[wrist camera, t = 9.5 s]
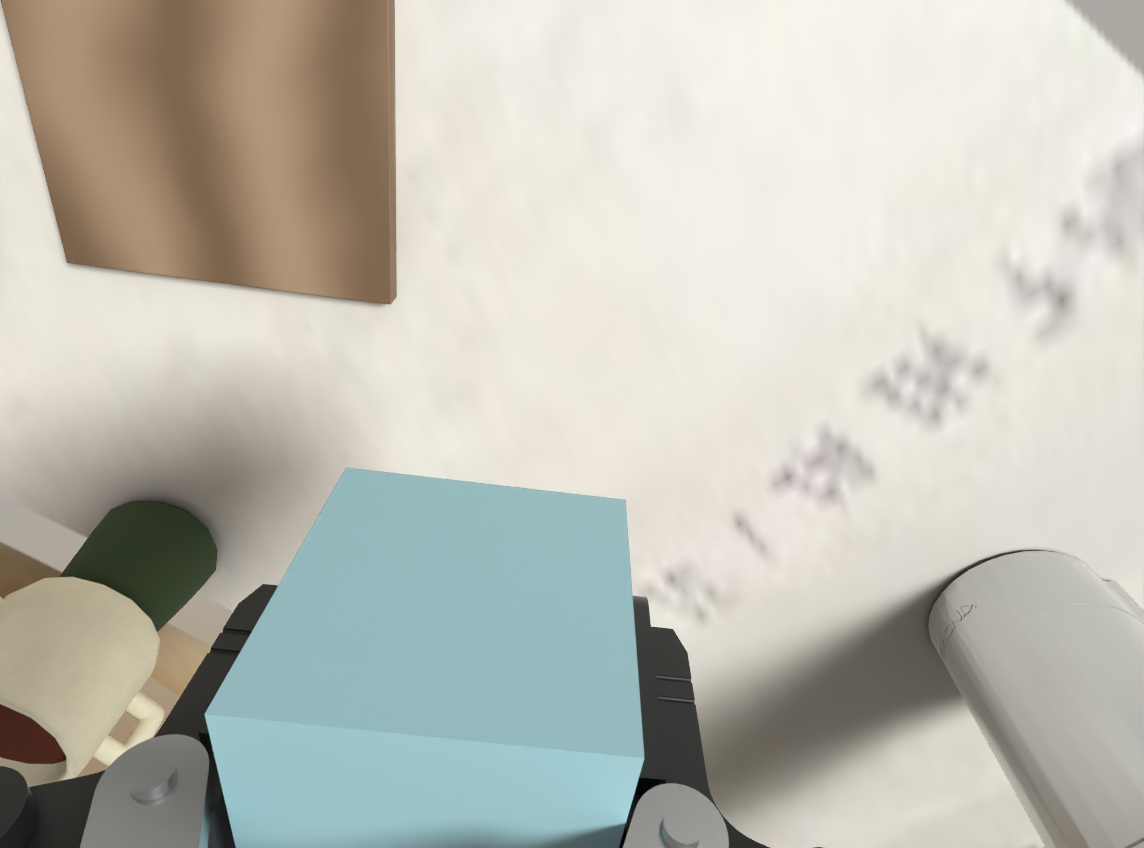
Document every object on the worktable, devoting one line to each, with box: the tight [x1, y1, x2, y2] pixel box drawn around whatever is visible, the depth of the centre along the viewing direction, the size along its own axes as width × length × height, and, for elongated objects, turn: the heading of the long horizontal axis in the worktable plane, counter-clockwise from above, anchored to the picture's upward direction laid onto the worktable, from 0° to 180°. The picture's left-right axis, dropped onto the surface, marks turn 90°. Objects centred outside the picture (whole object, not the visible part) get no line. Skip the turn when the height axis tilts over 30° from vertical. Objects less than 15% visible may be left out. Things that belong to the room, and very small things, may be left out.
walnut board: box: [1, 0, 396, 304], centre depth 25 cm, size 14×20×1 cm
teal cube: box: [205, 468, 644, 848], centre depth 11 cm, size 5×5×5 cm
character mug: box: [0, 502, 217, 787], centre depth 32 cm, size 11×7×13 cm, turn 36°
